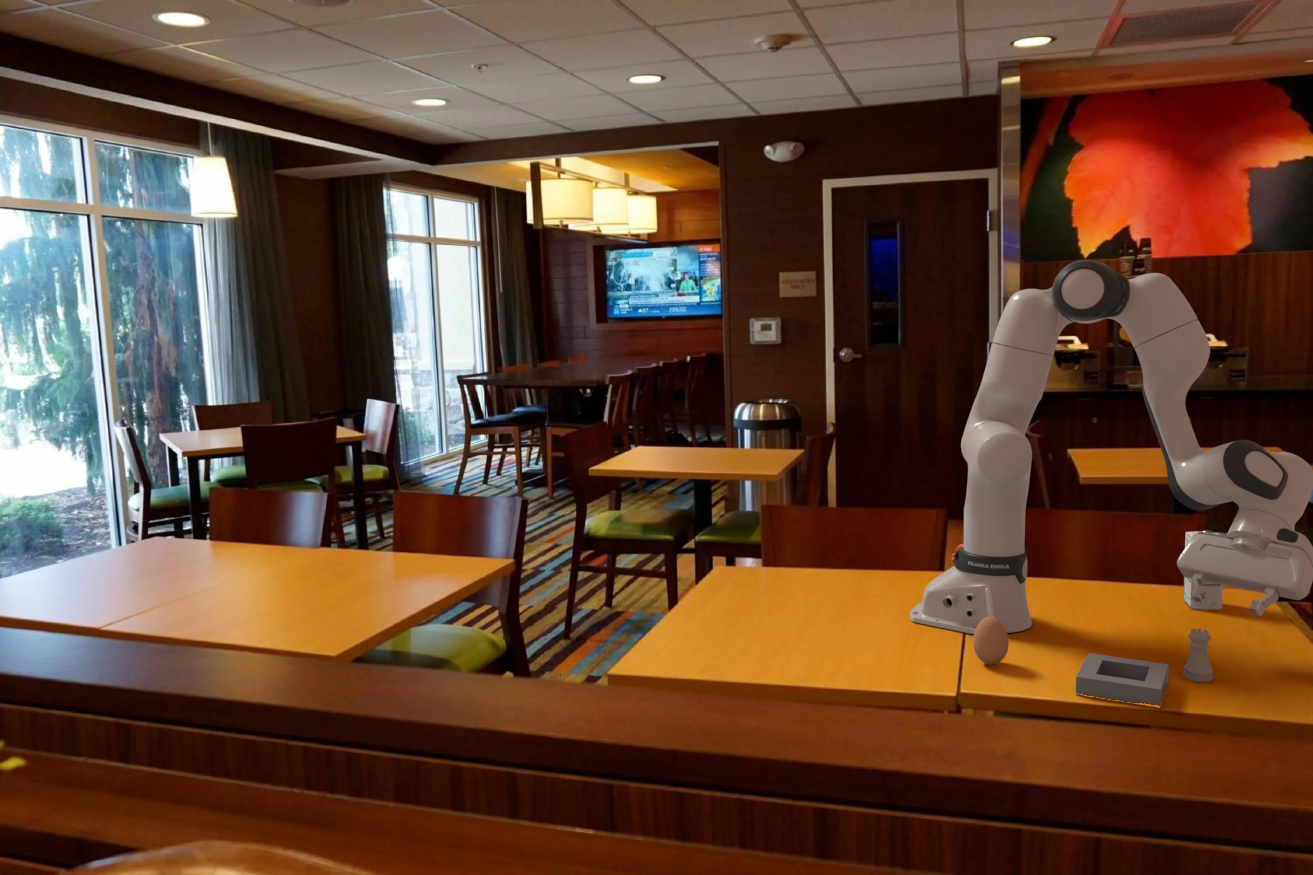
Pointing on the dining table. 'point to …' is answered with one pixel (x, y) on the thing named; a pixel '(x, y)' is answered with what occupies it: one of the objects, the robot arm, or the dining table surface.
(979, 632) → the egg
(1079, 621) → the dining table surface
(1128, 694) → the socket block
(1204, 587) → the syrup box
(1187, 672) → the rook chess piece
